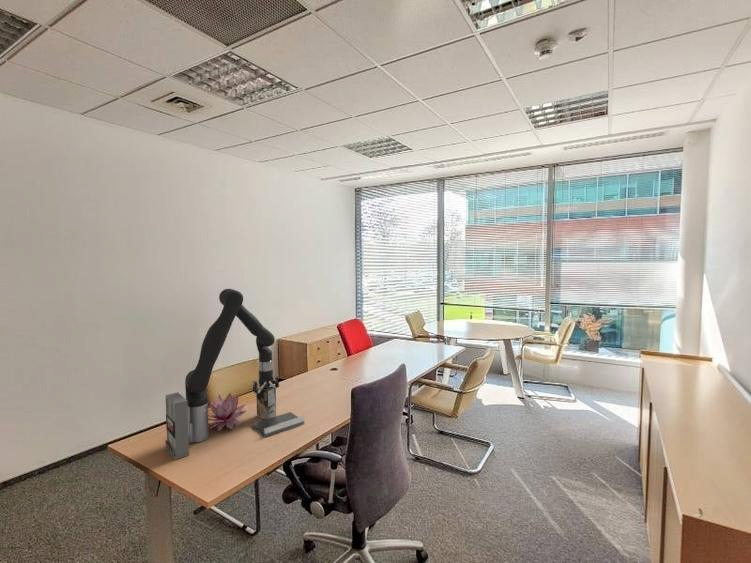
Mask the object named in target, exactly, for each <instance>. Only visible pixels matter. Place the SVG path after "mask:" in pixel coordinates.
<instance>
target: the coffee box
mask: <svg viewBox="0 0 751 563" xmlns="http://www.w3.org/2000/svg"><path fill="white" fill-rule="evenodd" d="M276 389H277V388H275V387H271V386H269V387H265V388H264V387H263V389H262V390H261V391H260V400H258V399H257V398H256V417H257V416H258V417H257V418H260V417H261V418H260V419H263V420H266V419H269V418H272V417H276V416H277V397H276V396H277V394H276V393H277V392H276V391H277V390H276Z"/></svg>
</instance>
